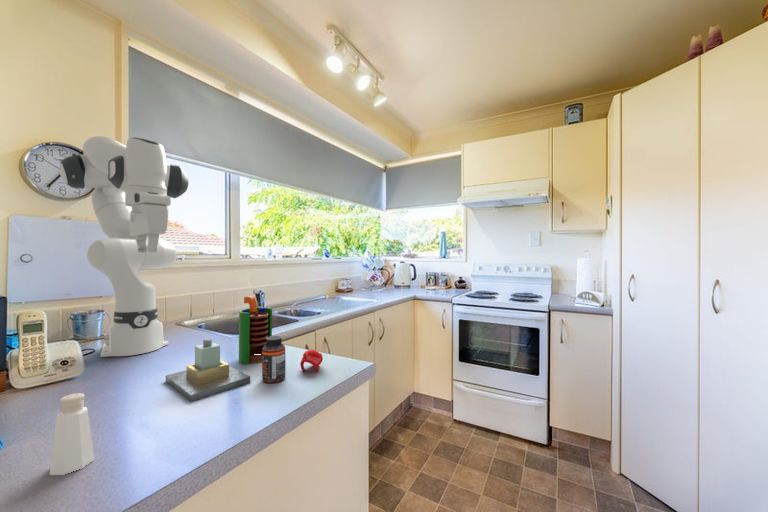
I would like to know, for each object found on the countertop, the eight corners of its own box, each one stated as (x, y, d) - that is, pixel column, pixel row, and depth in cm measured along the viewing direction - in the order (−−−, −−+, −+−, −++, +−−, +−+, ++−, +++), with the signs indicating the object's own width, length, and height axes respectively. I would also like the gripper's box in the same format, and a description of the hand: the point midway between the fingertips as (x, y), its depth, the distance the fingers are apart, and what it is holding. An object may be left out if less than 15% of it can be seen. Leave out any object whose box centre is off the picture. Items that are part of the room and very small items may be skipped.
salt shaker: (39, 480, 46) (38, 407, 46) (59, 458, 51) (59, 392, 51) (86, 470, 48) (86, 400, 48) (101, 450, 53) (101, 386, 53)
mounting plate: (165, 381, 82) (165, 364, 82) (220, 366, 93) (220, 351, 93) (191, 401, 71) (190, 382, 71) (250, 382, 82) (250, 365, 82)
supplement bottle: (258, 379, 84) (257, 337, 83) (278, 373, 88) (278, 333, 88) (268, 386, 79) (268, 341, 79) (289, 379, 84) (289, 337, 84)
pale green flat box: (195, 376, 82) (194, 340, 82) (213, 371, 85) (213, 336, 85) (201, 380, 79) (201, 343, 79) (220, 375, 82) (220, 339, 82)
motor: (257, 365, 94) (257, 299, 94) (231, 363, 96) (231, 298, 96) (275, 354, 104) (275, 295, 104) (251, 352, 106) (251, 294, 106)
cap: (319, 364, 86) (327, 347, 91) (299, 357, 86) (308, 340, 91) (315, 380, 91) (323, 363, 96) (296, 373, 91) (304, 357, 96)
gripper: (122, 203, 87) (122, 252, 87) (142, 193, 73) (142, 252, 74) (149, 205, 91) (150, 252, 92) (173, 197, 78) (173, 252, 78)
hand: (147, 252), depth 82 cm, fingers open, 8 cm apart
